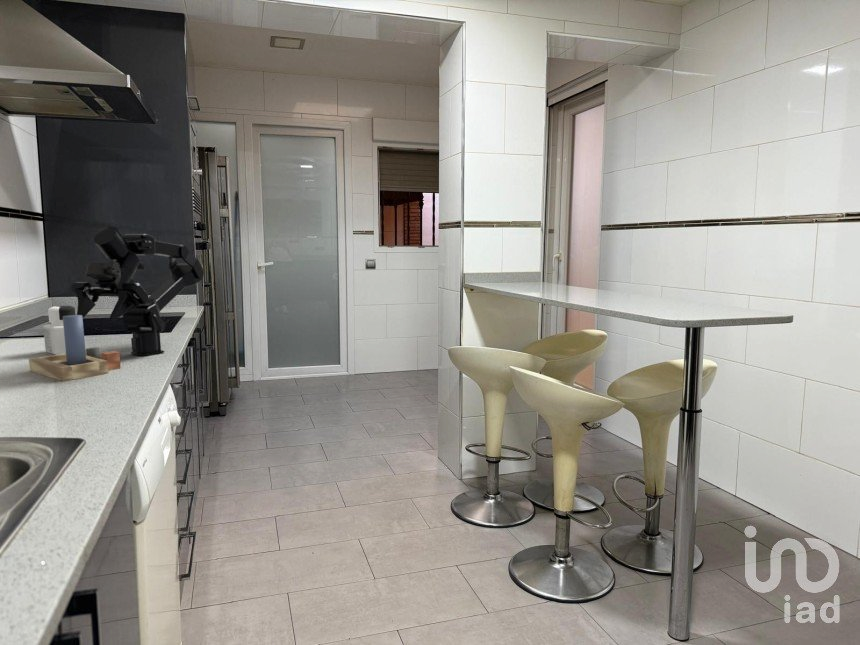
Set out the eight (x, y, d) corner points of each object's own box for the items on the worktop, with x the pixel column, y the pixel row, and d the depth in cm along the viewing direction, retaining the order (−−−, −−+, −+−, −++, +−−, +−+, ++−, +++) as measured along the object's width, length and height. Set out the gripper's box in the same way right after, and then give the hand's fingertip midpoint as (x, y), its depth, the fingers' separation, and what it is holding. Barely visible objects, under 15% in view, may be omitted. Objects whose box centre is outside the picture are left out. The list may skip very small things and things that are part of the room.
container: (74, 348, 178) (70, 304, 176) (85, 351, 173) (81, 305, 171) (45, 352, 172) (40, 306, 170) (55, 355, 167) (51, 308, 165)
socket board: (91, 360, 159) (90, 345, 159) (126, 369, 149) (125, 353, 148) (29, 370, 148) (28, 354, 147) (63, 381, 137) (62, 363, 137)
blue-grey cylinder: (85, 371, 147) (80, 314, 145) (89, 374, 144) (84, 316, 142) (66, 374, 144) (61, 315, 142) (69, 377, 141) (64, 317, 139)
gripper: (71, 250, 153) (40, 298, 144) (137, 250, 150) (109, 300, 141) (96, 279, 162) (69, 326, 153) (159, 279, 159) (134, 328, 150)
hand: (94, 319), depth 149 cm, fingers open, 9 cm apart
